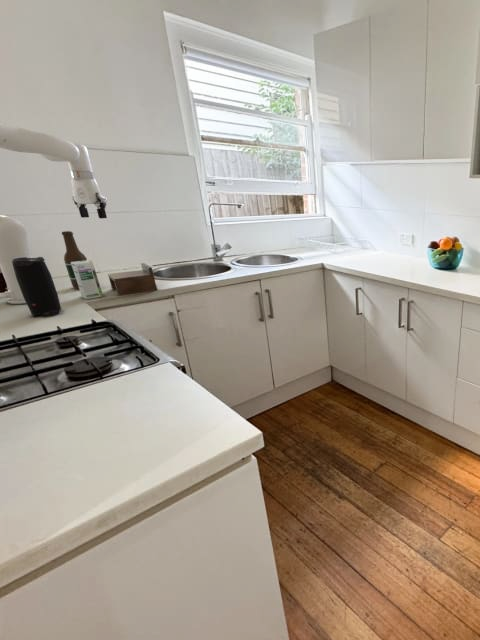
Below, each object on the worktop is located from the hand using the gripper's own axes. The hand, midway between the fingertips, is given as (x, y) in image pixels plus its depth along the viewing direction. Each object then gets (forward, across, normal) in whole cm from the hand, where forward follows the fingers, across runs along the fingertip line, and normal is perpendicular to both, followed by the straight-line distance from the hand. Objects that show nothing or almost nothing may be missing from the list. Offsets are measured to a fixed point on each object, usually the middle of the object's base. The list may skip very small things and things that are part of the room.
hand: (94, 217), depth 169 cm
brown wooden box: (+29, +23, -9) cm, 38 cm away
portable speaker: (+30, +23, -44) cm, 58 cm away
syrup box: (+29, +17, -23) cm, 41 cm away
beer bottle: (+29, -1, -12) cm, 31 cm away
